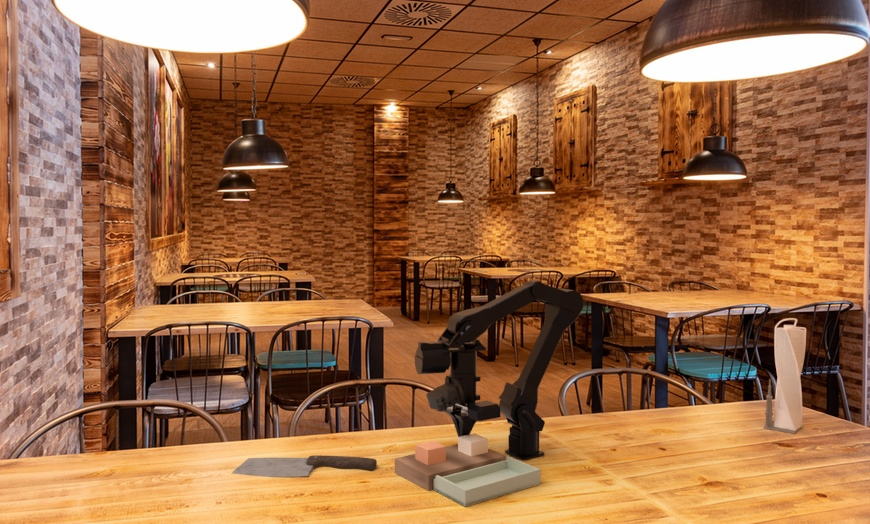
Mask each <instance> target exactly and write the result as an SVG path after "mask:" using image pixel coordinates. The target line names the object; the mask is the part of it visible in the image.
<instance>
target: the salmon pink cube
mask: <svg viewBox="0 0 870 524" xmlns="http://www.w3.org/2000/svg"><path fill="white" fill-rule="evenodd" d="M414 445H415V446H414V447H415V449H414V451H415V452H414V454H415V459H416V460H418V461H420V462H422V463H424V464H427V465H431V464H435V463H439V462H443V461H446V447H447V446H446V445H443V444H442V443H440V442H436V441H435V440H431V441H425V442H422V443H416V444H414Z"/></svg>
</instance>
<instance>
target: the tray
mask: <svg viewBox="0 0 870 524" xmlns="http://www.w3.org/2000/svg"><path fill="white" fill-rule="evenodd" d="M541 471H542V470H541V468H539V467H536V466H533V465H532V464H529V463H526V462H523V461H521V460H518V459H515V458H514V457H511V456H506V460H504V461H500V462H497V463H493V464H489V465H485V466H481V467H477V468H474V469H470V470H466V471H462V472H458V473H454V474H451V475H447V476H443V477H441V476H439V475H437V476H435V479H434V490H433V491H435V492H436V493H438V494H439V495H442V496H444V498H445V497H446V498H447V499H449V500H451V501H453V502H455V503H457V504H458V505H461V506H463V507H464V508H467V507H469V506H474V505H476V504H481V503H483V502H486V501H490V500H493V499H496V498H500V497H503V496H507V495H509V494H513V493H517V492H520V491H523V490H526V489H530V488H532V487H535V486H540V485H541V482H542V481H541V480H542V479H541V475H542V473H541Z"/></svg>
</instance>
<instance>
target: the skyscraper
mask: <svg viewBox="0 0 870 524" xmlns="http://www.w3.org/2000/svg"><path fill="white" fill-rule="evenodd" d="M785 321H794V324H783V327H778V326H779V325H780V324H781V323H783V322H785ZM798 321H799V320H798V319H797V318H795V317H789V318H783V319H781V320H779V321H778V322H777V323H776V324H775V326H774V339H773V340H774V342H773V343H774V349H773V350H774V363H775V369H776V376H777V379H776V386H775V396H774V397H773V395H772V385H771V383H772V382H771V378H769V379H768V385H767V395H766V397H765V398H766V399H765V400H766V407H765V412H764V413H765V421H764V426H763V429H765V428H767V429H766V430H771V429H772V430H771V431H776V430H777V431H776V432H781V431H783V432H782V433H787V432H789V433H788V434H792V433H794V434H796V433H797V432H798V430H799V429H800V430H802V429H803V392H802V382H801V375H802V372H803V367H804V361H805V357H806V356H805V355H806V348H807V347H806V344H807V343H806V342H807V328H806V327H804V326H803V327H802V326H797V324H798ZM773 398H774V409H773ZM773 416H774V417H773ZM800 430H799V431H800ZM795 432H796V433H795Z"/></svg>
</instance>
